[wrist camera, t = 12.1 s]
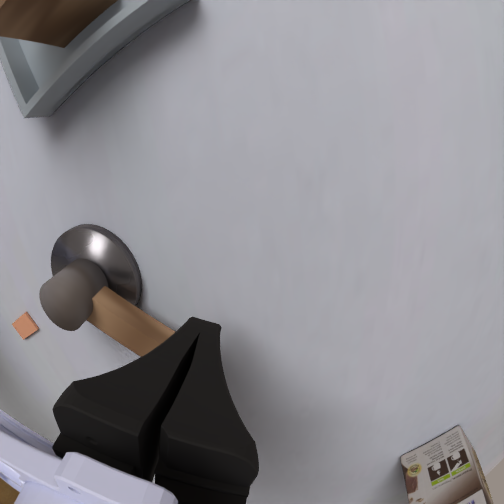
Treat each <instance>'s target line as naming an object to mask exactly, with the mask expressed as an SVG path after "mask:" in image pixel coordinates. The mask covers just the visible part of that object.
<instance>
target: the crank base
mask: <svg viewBox="0 0 504 504" xmlns="http://www.w3.org/2000/svg"><path fill="white" fill-rule="evenodd" d="M79 258H84V259H88V260H90V261H92V262H93V263H95V264H96V265H97V266H98V267H99V268H100V269H101V270H102V272H103V273H104V275H105V277H106V279H107V283H108V288H109V289H111V290H112V291H114V292H115V293H116V294H118V295H119V296H121V297H122V298H124V299H125V300H127V301H128V302H130V303H131V304H133V305H134V306H136V305H137V303H138V301H139V298H140V295H141V284H142V283H141V276H140V271H139V268H138V265H137V263H136V261H135V259H134V257H133V255H132V253H131V252H130V250H129V249H128V248H127V246H126V245H125V244H124V243H123V242H122V241H121V240H120V239H119V238H118V237H117V236H116V235H115V234H113V233H112V232H110V231H109V230H107V229H105V228H103V227H100V226H97V225H92V224H83V225H78V226H76V227H74V228H72V229H70V230H68V231H66V232H65V233H63V234H62V235H61V236H60V237H59V238H58V239H57V241H56V243H55V245H54V247H53V250H52V256H51V268H52V274H53V276H54V275H56V274H57V273H58V272H60V271H61V270H62V269H64V268H65V267H66V266H67V265H69V264H70V263H71V262H73V261H74V260H76V259H79Z"/></svg>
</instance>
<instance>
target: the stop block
mask: <svg viewBox="0 0 504 504" xmlns="http://www.w3.org/2000/svg"><path fill="white" fill-rule="evenodd" d="M117 1H118V0H0V37H8V38H14V39H21V40H26V41H32V42H37V43H43V44H48V45H52V46H57V47H61V48H65V47H66V46H67V45H68V44H69V43H70V42H71V41H72V40H73V39H74V38H75V37H76V36H77V35H78V34H79V33H80V32H81V31H83V30H84V29H85V28H86V27H87V26H88V25H89V24H90V23H91V22H93V21H94V20H95V19H96V18H97V17H98V16H99V15H101V14H102V13H103V12H104V11H105V10H107V9H108V8H109V7H110V6H112V5H113V4H114V3H115V2H117Z"/></svg>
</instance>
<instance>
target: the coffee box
mask: <svg viewBox="0 0 504 504" xmlns="http://www.w3.org/2000/svg"><path fill="white" fill-rule="evenodd" d="M401 464H402V469H403V474H404V479H405V484H406V489H407V493H408V500H409V504H493V501H492V498H491V495H490V492H489V488H488V485H487V483H486V480H485V477H484V474H483V471H482V468H481V466H480V463H479V460H478V458H477V455H476V452H475V450H474V448H473V447H472V445H471V443H470V442H469V440H468V438H467V437H466V435H465V433H464V432H463V430H462V428H461V426H456V427H455V428H453V429H451V430H450V431H448V432H446V433H445V434H443V435H441V436H439V437H437V438H436V439H434V440H432V441H430V442H428V443H426V444H424V445H423V446H421V447H419V448H417V449H415V450H412V451H410V452H408V453H406V454H404V455H402V456H401Z"/></svg>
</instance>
